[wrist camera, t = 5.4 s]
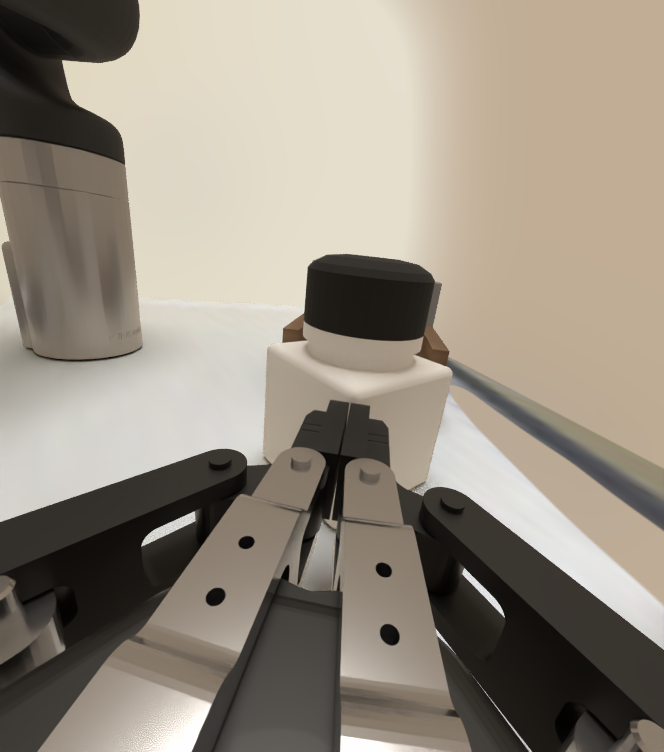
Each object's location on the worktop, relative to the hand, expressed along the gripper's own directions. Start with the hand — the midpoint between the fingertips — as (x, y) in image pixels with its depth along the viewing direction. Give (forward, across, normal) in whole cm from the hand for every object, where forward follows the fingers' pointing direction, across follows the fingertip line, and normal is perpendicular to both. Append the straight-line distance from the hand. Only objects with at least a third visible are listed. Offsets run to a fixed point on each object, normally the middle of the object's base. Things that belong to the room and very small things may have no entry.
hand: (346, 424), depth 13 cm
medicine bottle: (+6, 0, +6) cm, 8 cm away
